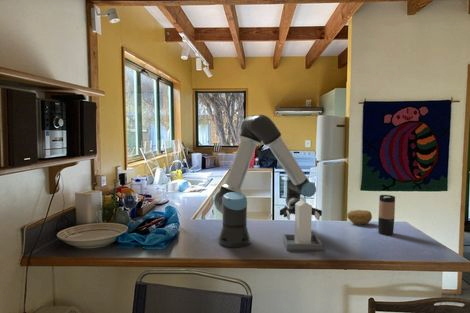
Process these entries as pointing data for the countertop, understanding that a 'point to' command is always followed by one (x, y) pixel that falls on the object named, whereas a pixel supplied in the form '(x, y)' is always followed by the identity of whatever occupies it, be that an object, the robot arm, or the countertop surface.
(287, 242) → the tray
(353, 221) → the potato
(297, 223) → the milk
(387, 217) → the travel mug
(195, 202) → the countertop surface
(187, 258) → the countertop surface
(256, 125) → the robot arm
